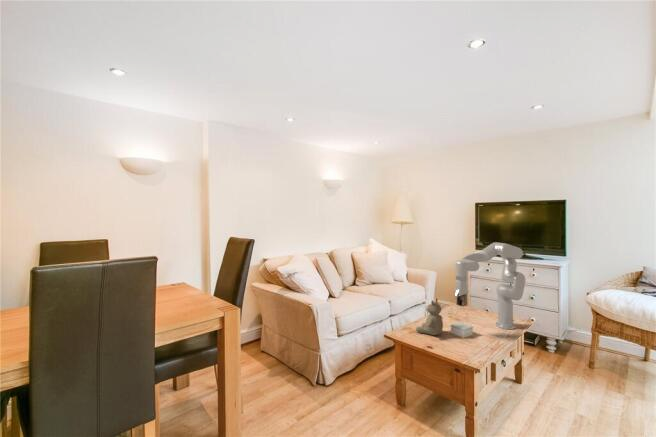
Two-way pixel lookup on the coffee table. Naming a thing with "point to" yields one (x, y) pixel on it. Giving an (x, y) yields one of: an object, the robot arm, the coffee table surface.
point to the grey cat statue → (432, 320)
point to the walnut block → (463, 300)
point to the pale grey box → (461, 329)
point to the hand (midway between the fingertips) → (461, 303)
